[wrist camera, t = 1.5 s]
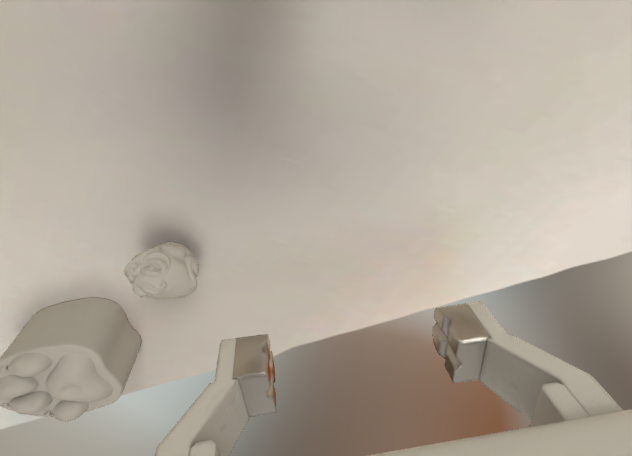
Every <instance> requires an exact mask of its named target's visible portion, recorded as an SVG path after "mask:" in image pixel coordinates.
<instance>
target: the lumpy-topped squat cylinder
mask: <svg viewBox="0 0 632 456" xmlns="http://www.w3.org/2000/svg"><path fill="white" fill-rule="evenodd" d="M141 342H142V340H141V337H140V335H139V334H138V333H137V332H136V331H135V330H134V328H133V327H132V326H131V325H130V324H129V322H128V320H127V317H126V315H125V313H124V311H123V309H122V308H121V307H120V306H119V305H118V304H117V303H115V302H113V301H110V300H107V299H103V298H84V299H78V300H72V301H67V302H63V303H59V304H56V305H52V306H49V307H46V308H44V309H42V310H40V311H39V312H37V313H36V314H35V315H34V316H33V317H32V318H31V319H30V321H29V322H28V323H27V324H26V326H25V327H24V328H23V330H22V331H21V332H20V333H19V335H18V336H17V337H16V338H15V340H14V341H13V342H12V344H11V345H10V346H9V347H8V349H7V350H6V351H5V352H4V354H3V355H2V356H1V358H0V406H2V407H4V408H7V409H9V410H12V411H16V412H17V413H20V414H27V415H35V416H46V417H55V418H56V419H58V420H60V421H71V420H74V419H76V418H78V417H79V416H81V415H82V414H83V413H84V412H87V411H90V410H93V409H96V408H100V407H103V406H106V405H109V404H111V403H113V402H115V401H116V400H117V399H118V398H119V397H120V396H121V394H122V392H123V390H124V387H125V384H126V382H127V380H128V377H129V375H130V372H131V369H132V367H133V364H134V362H135V359H136V356H137V354H138V351H139V348H140V346H141Z"/></svg>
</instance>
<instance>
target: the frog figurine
mask: <svg viewBox="0 0 632 456" xmlns="http://www.w3.org/2000/svg"><path fill="white" fill-rule="evenodd" d="M198 271H199V264H198V262H197V261H196V259H195V258H194V256H193V254H192V253H191V251H190V250H189V249H188V248H187V247H185V246H184V245H182V244H179V243H175V242H166V243H163V244H160V245H158V246H156V247H152V248H151V249H149V250H147V251H145V252H143V253H141V254H139V255H137V256H135V257H134V258H133V259H132V260H131V261H130V262H129V263H128V265H127V266H126V267H125V270H124V274H125V276H126V277H127V278H128V279H129V281H130V283H131V284H132V287H133V291H134V293H135V294H136V295H138V296H139V297H145V296H146V297H152V298H155V299H171V298H180V297H184V296H186V295H188V294H190V293H192V292H193V291H194V290H195V289H196V287H197V281H196V277H197V276H198Z"/></svg>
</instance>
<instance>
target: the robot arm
mask: <svg viewBox="0 0 632 456" xmlns="http://www.w3.org/2000/svg"><path fill="white" fill-rule="evenodd" d="M434 318H435V320H436V322H437V323H436V324H435V325H434V326H433V331H432V336H433V341H434V345H435V348H436V350H437V352H438V354H439V355H440V356H441V357H443V358H444V359H445V367H446V370H447V371H448V373H449V375H450V377H451V379H452V381H453V383H458V382H465V381H472V380H479V381H480V382H482V383H483V384H484V385H485V386H487V387H488V388H489V389H491V390H492V391H493V392H495V393H496V394H497V395H498V396H500V397H501V398H502V399H504V400H505V401H506V402H508V403H509V404H510V405H511V406H513V407H514V408H515V409H517V410H518V411H519V412H520V413H522V414H523V415H524V416H526V417H527V418H528V419H529V420H531V422H530V425H529V427H528V428H522V429H517V430H511V431H505V432H499V433H494V434H488V435H482V436H477V437H471V438H465V439H460V440H454V441H448V442H443V443H438V444H431V445H427V446H420V447H415V448H409V449H403V450H398V451H392V452H385V453H380V454H374V455H368V456H632V409H631V410H625V411H623V410H622V408H621V407H620V406H619V405H618V404H617V403H616V402H615V401H614V400H613V399H612V398H611V396H610V395H609V394H608V393H607V392H606V391H605V390H604V389H603V388H602V387H601V386H600V384H599V383H598V382H597V381H596V380H595V379H594V378H593V377H592V376H591V375H590V374H587V373H585V372H584V371H581V370H580V369H578V368H576V367H574V366H572V365H570V364H568V363H566V362H564V361H562V360H560V359H558V358H556V357H554V356H552V355H550V354H548V353H547V352H545V351H543V350H541V349H539V348H537V347H535V346H533V345H531V344H529V343H527V342H525V341H523V340H521V339H519V338H517V337H515V336H513V335H512V336H508V335H507V333H506V332H505V331H504V329H503V328H502V327H501V326H500V324H499V323H498V322H497V320H496V319H495V318H494V317H493V315H492V314H491V313H490V312H489V310H488V309H487V308H486V306H484V304H483V303H482V302H480V301H477V302H471V303H465V304H458V305H453V306H447V307H440V308H436V309H435V311H434ZM274 382H275V367H274V359H273V354H272V351H270V340H269V336H268V334H264V335H256V336H248V337H241V338H235V339H227V340H222V341H221V343H220V347H219V354H218V361H217V368H216V375H215V382H214V383H210V384H209V385H208V386H207V387H206V389H205V390H204V391H203V392H202V394H201V395H200V396H199V397H198V398H197V400H196V401H195V402H194V403H193V404H192V406H191V407H190V408H189V409H188V411H187V412H186V413H185V414H184V415H183V416H182V418H181V419H180V420H179V421H178V423H177V424H176V425H175V426H174V427H173V429H172V430H171V431H170V432H169V433H168V435H167V436H166V437H165V438H164V439H163V441H162V442H161V443H160V444H159V446H158V447H157V449H156V453H155V456H229V455H230V453H231V451H232V450H233V448H234V446H235V444H236V442H237V441H238V439H239V437H240V435H241V433H242V432H243V430H244V428H245V426H246V424H247V423H248V421H249V418H250V417H255V416H260V415H265V414H270V413H275V412H276V393H275V388H274Z"/></svg>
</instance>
